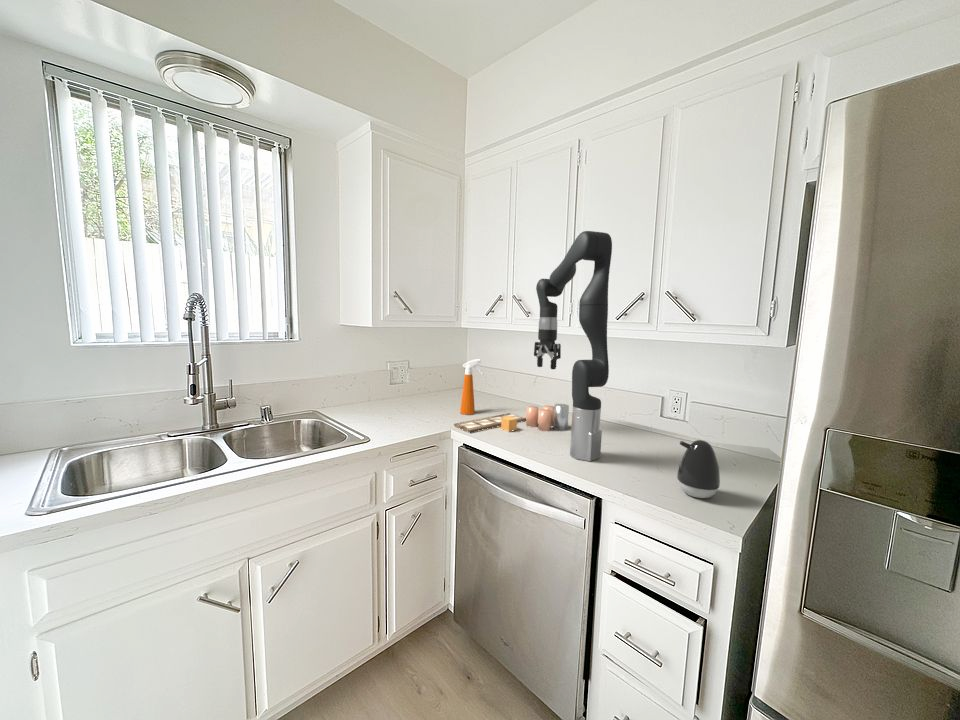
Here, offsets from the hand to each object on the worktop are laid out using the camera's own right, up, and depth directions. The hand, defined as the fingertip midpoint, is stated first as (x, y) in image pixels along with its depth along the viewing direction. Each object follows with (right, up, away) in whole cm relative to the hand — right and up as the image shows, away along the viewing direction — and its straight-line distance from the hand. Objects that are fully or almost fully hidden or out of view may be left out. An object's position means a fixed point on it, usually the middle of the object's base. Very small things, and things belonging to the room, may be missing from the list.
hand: (546, 368), depth 161 cm
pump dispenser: (+32, -34, -54) cm, 71 cm away
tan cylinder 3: (0, -26, +4) cm, 26 cm away
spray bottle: (-31, -23, +27) cm, 47 cm away
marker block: (-15, -26, +1) cm, 30 cm away
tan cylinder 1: (-5, -25, +9) cm, 27 cm away
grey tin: (+7, -26, +6) cm, 27 cm away
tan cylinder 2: (+3, -25, +11) cm, 28 cm away
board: (-22, -25, +10) cm, 35 cm away
